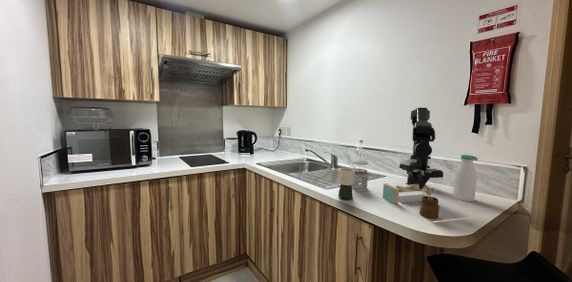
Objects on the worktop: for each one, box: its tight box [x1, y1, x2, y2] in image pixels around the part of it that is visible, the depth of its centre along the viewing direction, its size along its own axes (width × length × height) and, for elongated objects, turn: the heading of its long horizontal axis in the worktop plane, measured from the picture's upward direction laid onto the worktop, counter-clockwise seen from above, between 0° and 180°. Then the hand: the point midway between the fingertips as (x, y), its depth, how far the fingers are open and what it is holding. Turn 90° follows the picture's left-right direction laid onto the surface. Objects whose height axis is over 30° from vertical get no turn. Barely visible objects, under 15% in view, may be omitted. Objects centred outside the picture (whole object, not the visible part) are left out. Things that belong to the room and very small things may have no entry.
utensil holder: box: [419, 185, 440, 220], centre depth 84 cm, size 6×6×12 cm
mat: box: [398, 194, 427, 204], centre depth 102 cm, size 18×8×1 cm, turn 103°
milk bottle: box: [452, 154, 478, 203], centre depth 103 cm, size 8×8×20 cm
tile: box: [382, 183, 400, 205], centre depth 99 cm, size 2×8×7 cm, turn 13°
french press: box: [349, 139, 369, 192], centre depth 114 cm, size 10×12×25 cm
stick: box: [395, 184, 428, 194], centre depth 101 cm, size 14×2×2 cm, turn 104°
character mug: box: [337, 167, 355, 200], centre depth 103 cm, size 11×7×13 cm, turn 141°
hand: (418, 188), depth 102 cm, fingers closed on stick, 2 cm apart
